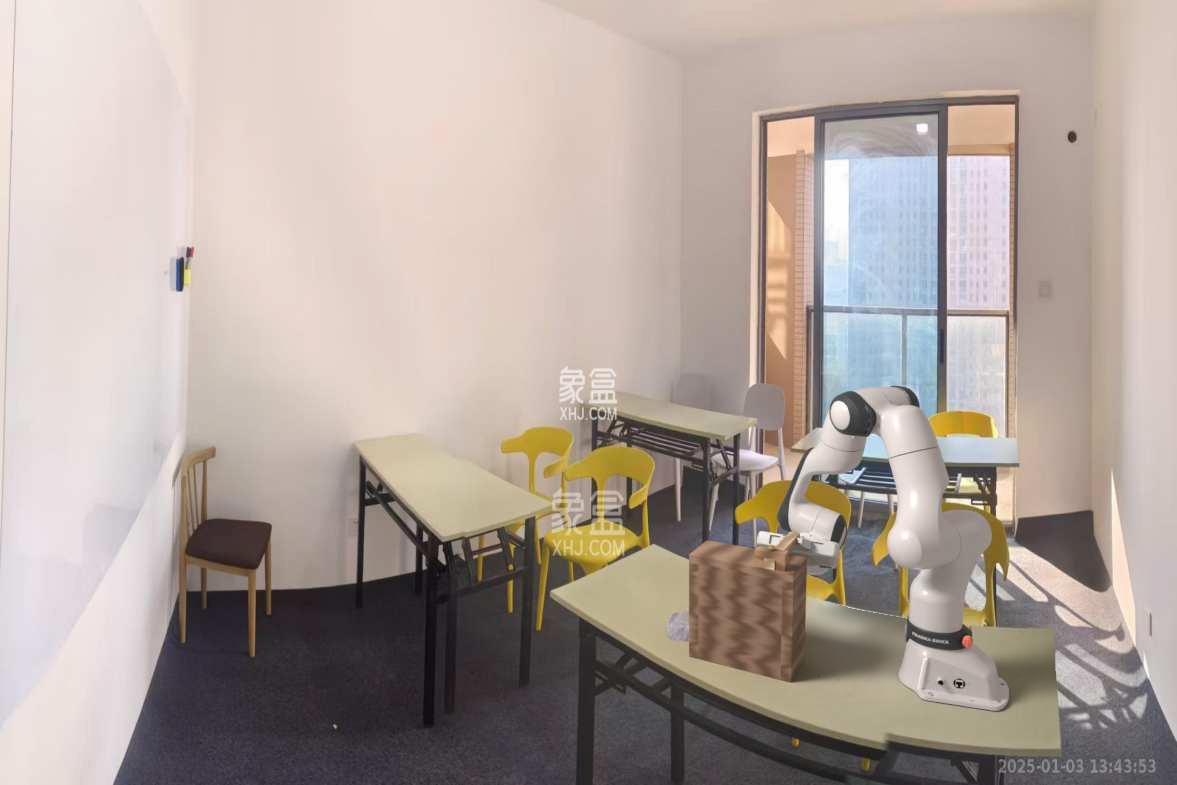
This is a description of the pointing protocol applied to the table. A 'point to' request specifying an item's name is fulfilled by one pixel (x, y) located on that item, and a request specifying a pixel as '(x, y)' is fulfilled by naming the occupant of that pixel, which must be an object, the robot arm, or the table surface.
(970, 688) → the robot arm
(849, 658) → the table surface
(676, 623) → the lavender lumpy chunk
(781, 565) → the marking gauge
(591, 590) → the table surface
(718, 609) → the wood grain box
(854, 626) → the table surface
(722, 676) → the table surface
